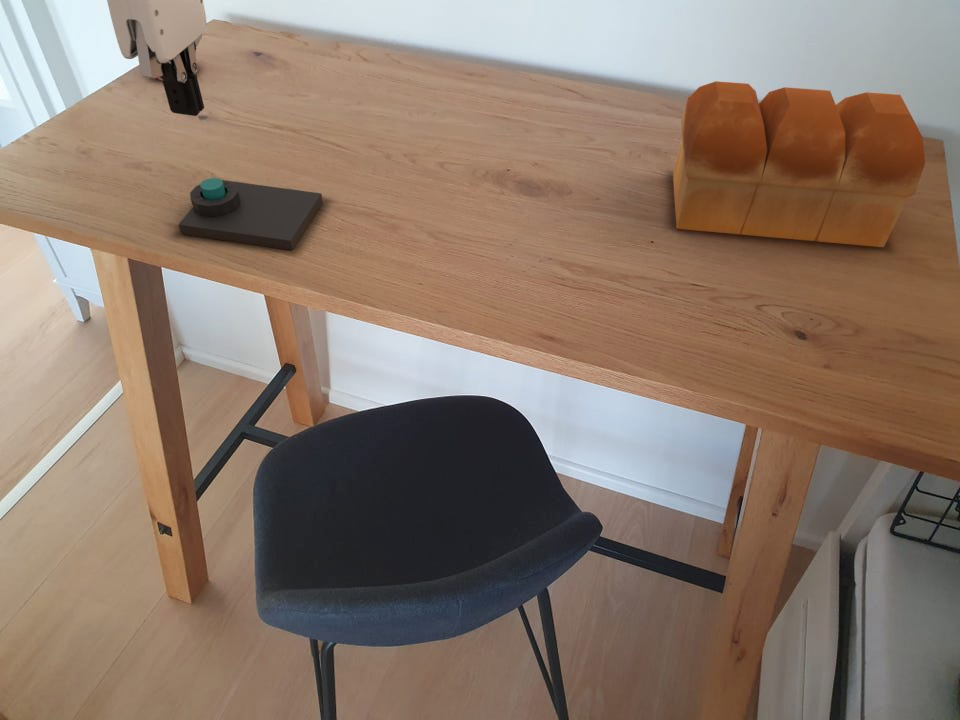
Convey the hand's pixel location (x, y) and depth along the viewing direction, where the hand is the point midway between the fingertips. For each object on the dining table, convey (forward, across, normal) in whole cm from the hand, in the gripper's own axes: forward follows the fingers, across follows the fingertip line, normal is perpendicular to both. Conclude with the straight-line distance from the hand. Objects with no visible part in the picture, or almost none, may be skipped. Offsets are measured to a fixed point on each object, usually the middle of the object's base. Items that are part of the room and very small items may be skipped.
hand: (188, 110), depth 84 cm
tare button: (+11, 0, 0) cm, 11 cm away
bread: (+13, -16, +67) cm, 70 cm away
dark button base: (+13, 0, +5) cm, 14 cm away
